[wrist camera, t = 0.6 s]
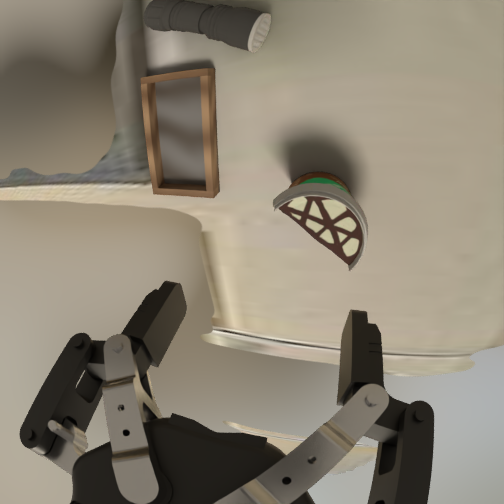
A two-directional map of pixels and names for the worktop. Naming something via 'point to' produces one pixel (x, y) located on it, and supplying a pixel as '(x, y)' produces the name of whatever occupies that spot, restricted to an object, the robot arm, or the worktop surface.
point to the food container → (327, 214)
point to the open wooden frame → (182, 132)
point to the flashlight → (210, 22)
